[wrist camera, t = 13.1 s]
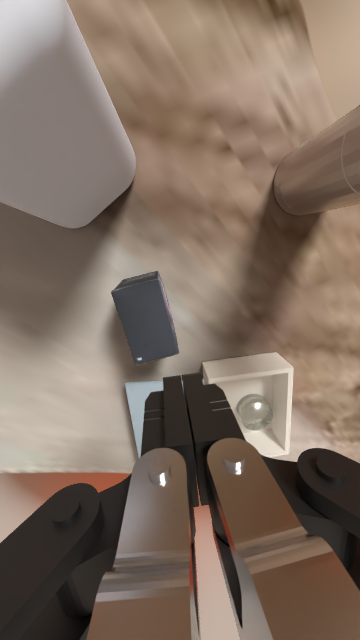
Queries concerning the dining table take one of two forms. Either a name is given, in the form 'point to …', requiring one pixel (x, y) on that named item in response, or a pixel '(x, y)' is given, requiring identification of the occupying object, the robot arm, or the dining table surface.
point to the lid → (140, 404)
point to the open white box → (266, 380)
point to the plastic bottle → (56, 119)
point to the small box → (146, 317)
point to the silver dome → (254, 412)
